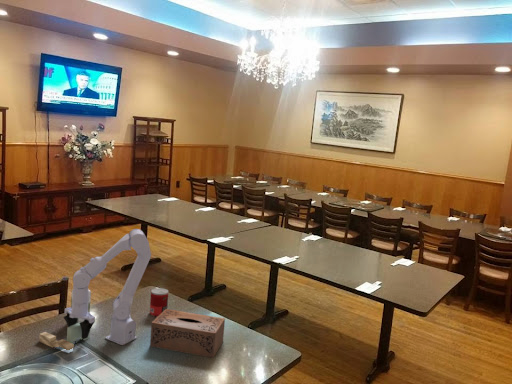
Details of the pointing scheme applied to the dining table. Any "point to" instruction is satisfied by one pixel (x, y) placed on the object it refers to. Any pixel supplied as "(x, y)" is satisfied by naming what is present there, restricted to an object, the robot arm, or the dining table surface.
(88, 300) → the syrup box
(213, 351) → the tissue box cover
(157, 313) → the canned food
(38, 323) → the dining table surface
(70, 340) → the cross plate
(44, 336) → the slotted rail
